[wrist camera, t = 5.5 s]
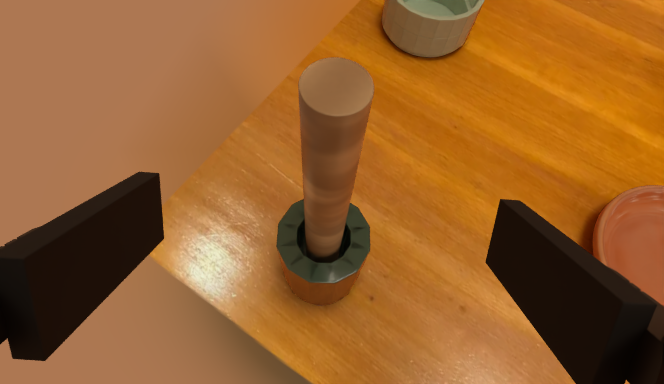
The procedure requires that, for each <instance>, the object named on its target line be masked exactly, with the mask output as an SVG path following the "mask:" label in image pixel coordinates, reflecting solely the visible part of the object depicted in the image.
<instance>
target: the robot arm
mask: <svg viewBox="0 0 664 384" xmlns="http://www.w3.org/2000/svg"><path fill="white" fill-rule="evenodd" d="M163 239H164V231H163V217H162V204H161V191H160V177H159V173H149V172H138V173H136V174H134V175H132V176H131V177H129V178H127V179H125V180H123V181H122V182H120V183H118V184H116V185H115V186H113V187H111V188H109V189H107V190H106V191H104V192H102V193H100V194H98V195H96V196H95V197H93V198H91V199H89V200H88V201H86V202H84V203H82V204H80V205H79V206H77V207H75V208H73V209H71V210H70V211H68V212H66V213H65V214H62V215H61V216H59V217H57V218H55V219H53V220H52V221H50V222H48V223H46V224H45V225H43V226H41V227H37V228H34V229H32V230H30V231H28V232H26V233H25V234H23V235H21V236H19V237H17V239H14V240H12V241H10V242H8V243H6V244H5V246H1V247H0V344H1V343H2V342H4V341H5V340H6V339H7V338H8V342H9V346H10V350H11V354H12V358H13V359H24V360H38V361H39V360H40V361H45V360H46V359H47V358H48V357H49V356H50V355H51V354H52V353H53V352H54V351H55V350H56V349H57V348H58V347H59V346H60V345H61V344H62V343H63V342H64V341H65V340H66V339H67V338H68V337H69V336H70V335H71V334H72V333H73V332H74V331H75V330H76V328H77V327H79V326H80V324H81V323H82V322H83V321H84V320H85V319H86V318H87V317H88V316H89V315H90V314H91V313H92V312H93V311H94V310H95V309H96V308H97V307H98V306H99V305H100V304H101V303H102V302H103V301H104V300H105V299H106V298H107V297H108V296H109V295H110V294H111V293H112V292H113V291H114V290H115V289H116V287H117V286H118V285H119V284H120V283H121V282H122V281H123V280H124V279H125V278H126V277H127V276H128V275H129V274H130V273H131V272H132V271H133V270H134V269H135V268H136V267H137V266H138V265H139V264H140V263H141V262H142V261H143V260H144V259H145V257H147V256H148V255H149V254H150V253H151V252H152V251H153V249H154V248H155V247H156V246H157V245H158V244H159V243H160V242H161V241H162V240H163ZM486 264H487V265H488V266H489V268H490V269H491V270H492V272H493V273H494V274H495V276H496V277H497V278H498V280H499V281H500V282H501V284H502V285H503V286H504V288H505V289H506V290H507V292H508V293H509V294H510V296H511V297H512V298H513V300H514V301H515V302H516V304H517V305H518V307H519V308H520V309H521V311H522V312H523V313H524V315H525V316H526V317H527V319H528V320H529V321H530V323H531V324H532V325H533V327H534V328H535V329H536V331H537V332H538V333H539V335H540V336H541V337H542V339H543V340H544V341H545V343H546V344H547V345H548V347H549V348H550V349H551V351H552V352H553V354H554V355H555V356H556V358H557V359H558V360H559V362H560V363H561V364H562V366H563V367H564V368H565V370H566V371H567V372H568V374H569V375H570V376H571V378H572V379H573V380H574V382H575V383H576V384H624V383H625V381H626V380H627V381H628V382H629V383H630V384H664V306H663V305H661V304H660V303H659V302H657V301H656V300H655V299H653V298H652V297H651V296H649V295H648V294H647V293H645V292H644V291H641V289H640V288H639V287H637V286H636V285H635V284H633V283H630V281H629V280H628V279H627V278H625V277H624V276H623V275H621V274H620V273H619V272H617V271H616V270H614V269H612V268H610V267H608V266H606V265H604V264H603V263H602V262H600V261H599V260H598V259H596V258H595V257H594V256H592V255H591V254H590V253H588V252H587V251H586V250H585V249H583V248H582V247H581V246H579V245H578V244H577V243H575V242H574V241H573V240H571V239H570V238H569V237H567V236H566V235H565V234H563V233H562V232H561V231H559V230H558V229H557V228H555V227H554V226H553V225H551V224H550V223H549V222H548V221H546V220H545V219H544V218H542V217H541V216H540V215H538V214H537V213H536V212H534V211H533V210H532V209H530V208H529V207H528V206H526V205H525V204H524V203H522V202H521V201H518V200H505V199H500V203H499V207H498V211H497V215H496V220H495V224H494V228H493V232H492V237H491V241H490V245H489V249H488V254H487V258H486Z"/></svg>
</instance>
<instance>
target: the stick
mask: <svg viewBox="0 0 664 384" xmlns="http://www.w3.org/2000/svg"><path fill="white" fill-rule="evenodd" d="M373 94H374V84H373V80H372V78H371V76H370V74H369V73H368V72H367V71H366V69H364V68H363V67H362V66H361V65H359V64H358V63H356V62H354V61H351V60H348V59H344V58H325V59H321V60H318V61H316V62H314V63H312V64H311V65H310V66H308V67H307V68H306V69H305V70H304V72H303V73H302V75H301V77H300V80H299V109H300V130H301V151H302V172H303V193H304V214H305V235H306V256H307V257H308V258H309V259H311V260H312V261H314V262H316V263H332V262H333V261H335V260H337V259H338V255H339V251H340V246H341V241H342V237H343V232H344V228H345V223H346V218H347V214H348V209H349V205H350V200H351V195H352V191H353V186H354V182H355V177H356V172H357V168H358V163H359V159H360V154H361V149H362V145H363V140H364V136H365V131H366V126H367V122H368V117H369V113H370V108H371V103H372V99H373Z"/></svg>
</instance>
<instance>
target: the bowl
mask: <svg viewBox="0 0 664 384" xmlns="http://www.w3.org/2000/svg"><path fill="white" fill-rule="evenodd" d="M483 3H484V0H385V3H384V8H383V14H382V24H383V29H384V31H385V32H386V34H387V35H388V37H389V39H390V40H391V41H392V42H393V43H394V44H395V45H396V46H397V47H398V48H400V49H401V50H403V51H405V52H407V53H410V54H412V55H416V56H421V57H439V56H443V55H446V54H448V53H450V52H453V51H455V50H456V49H458V48H459V47H460V46H462V45H463V44H464V42H465V41H466V39H467V37H468V35H469V33H470V31H471V29H472V27H473V25H474V22H475V20H476V18H477V16H478V14H479V12H480V9H481V7H482V5H483Z"/></svg>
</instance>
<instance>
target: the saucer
mask: <svg viewBox="0 0 664 384" xmlns="http://www.w3.org/2000/svg"><path fill="white" fill-rule="evenodd" d="M593 254H594V257H595V258H596V259H598V260H599V261H600V262H602V263H603V264H604V265H606V266H608V267H610V268H612V269H614V270H616V271H617V272H619V273H620V274H621V275H623V276H624V277H625V278H627V279H628V280H629V281H630V283H633V284H635V285H636V286H637V287H639V288H640V289H641V291H644V292H645V293H647V294H648V295H649V296H651V297H652V298H653V299H655V300H656V301H657V302H659V303H660V304H661V305H663V306H664V186H658V185H650V186H641V187H636V188H633V189H630V190H627V191H625V192H623V193H621V194H620V195H618V196H617V197H615V198H614V199H613V200H612V201H611V202H610V203H608V204H607V205H606V206H605V208H604V209H603V210H602V211H601V213H600V214H599V216H598V219H597V221H596V224H595V227H594V232H593Z"/></svg>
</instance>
